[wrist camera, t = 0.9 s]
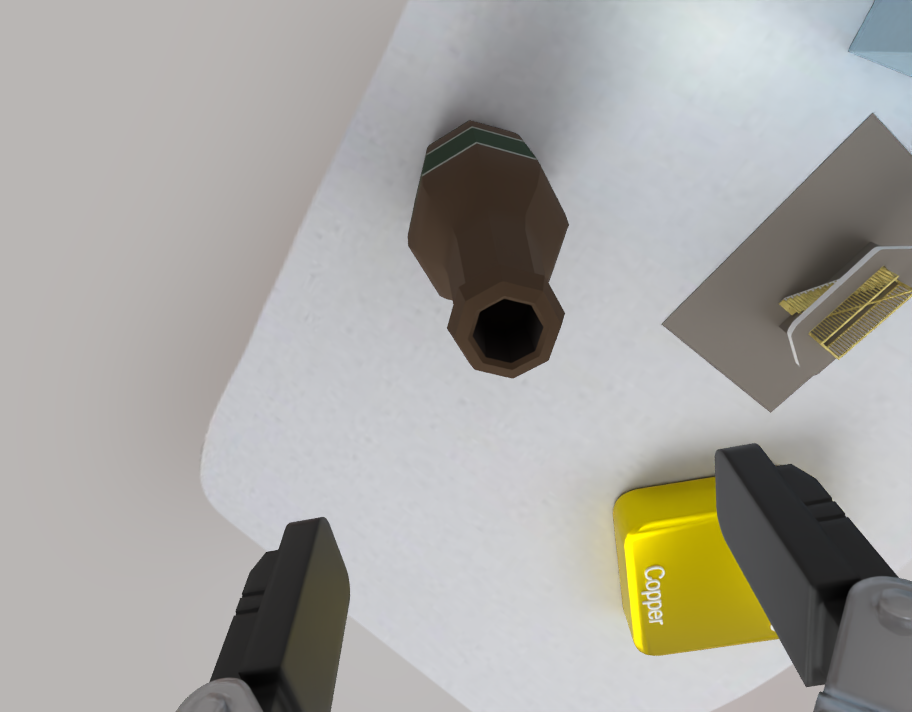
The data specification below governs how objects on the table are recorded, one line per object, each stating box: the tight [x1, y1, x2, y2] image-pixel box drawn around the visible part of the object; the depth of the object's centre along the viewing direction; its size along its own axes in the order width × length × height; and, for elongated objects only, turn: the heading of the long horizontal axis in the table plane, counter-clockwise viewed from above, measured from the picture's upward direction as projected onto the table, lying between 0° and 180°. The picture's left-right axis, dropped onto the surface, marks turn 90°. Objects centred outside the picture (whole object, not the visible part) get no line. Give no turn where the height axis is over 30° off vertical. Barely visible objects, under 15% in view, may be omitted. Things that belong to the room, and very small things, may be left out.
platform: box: [662, 113, 912, 412], centre depth 42 cm, size 12×18×7 cm, turn 142°
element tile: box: [613, 477, 779, 656], centre depth 53 cm, size 15×15×5 cm
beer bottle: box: [408, 120, 569, 378], centre depth 31 cm, size 8×8×24 cm
